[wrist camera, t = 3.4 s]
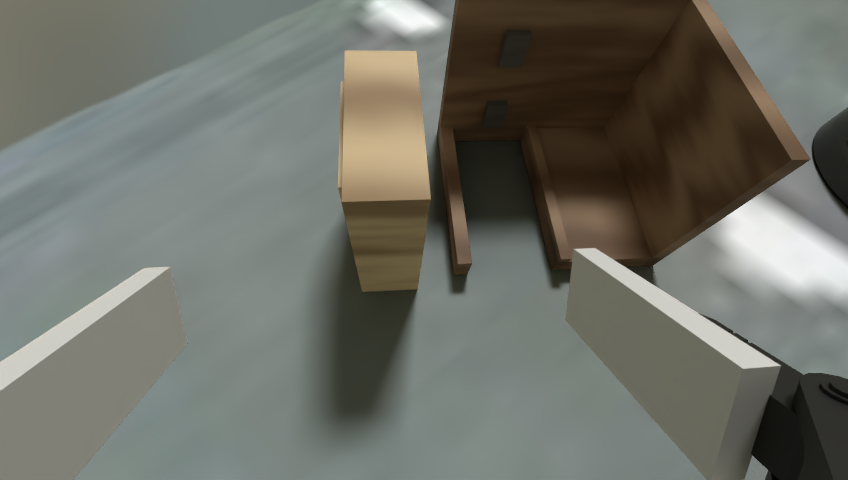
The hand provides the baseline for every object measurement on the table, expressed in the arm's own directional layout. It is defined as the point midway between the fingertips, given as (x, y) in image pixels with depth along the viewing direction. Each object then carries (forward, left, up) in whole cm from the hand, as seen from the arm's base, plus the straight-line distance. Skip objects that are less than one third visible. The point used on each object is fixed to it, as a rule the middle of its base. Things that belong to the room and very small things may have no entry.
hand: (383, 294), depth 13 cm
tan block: (+7, -7, -14) cm, 18 cm away
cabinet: (0, -18, -14) cm, 23 cm away
